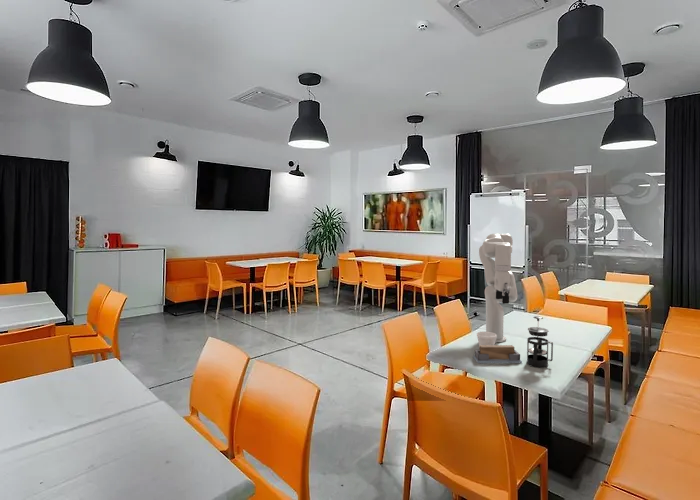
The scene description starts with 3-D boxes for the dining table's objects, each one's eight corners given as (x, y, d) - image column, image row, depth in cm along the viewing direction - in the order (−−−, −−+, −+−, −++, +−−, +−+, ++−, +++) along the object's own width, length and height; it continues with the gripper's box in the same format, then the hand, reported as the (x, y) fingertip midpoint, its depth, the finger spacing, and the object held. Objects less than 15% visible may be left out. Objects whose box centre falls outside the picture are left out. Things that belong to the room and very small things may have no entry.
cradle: (473, 357, 195) (473, 349, 195) (515, 357, 194) (515, 349, 194) (477, 363, 187) (477, 355, 187) (521, 363, 186) (521, 354, 186)
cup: (496, 349, 207) (496, 332, 206) (497, 355, 197) (497, 337, 197) (476, 347, 210) (476, 330, 209) (476, 353, 201) (476, 336, 200)
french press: (522, 364, 184) (523, 317, 183) (527, 359, 192) (528, 313, 190) (549, 370, 177) (551, 320, 175) (554, 364, 184) (555, 316, 183)
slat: (479, 357, 193) (479, 345, 192) (511, 357, 192) (512, 345, 191) (481, 359, 190) (481, 347, 189) (514, 359, 189) (514, 347, 188)
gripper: (490, 265, 205) (489, 297, 207) (501, 270, 188) (500, 305, 190) (504, 265, 205) (503, 297, 207) (516, 270, 188) (516, 305, 190)
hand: (502, 301), depth 198 cm, fingers open, 9 cm apart
